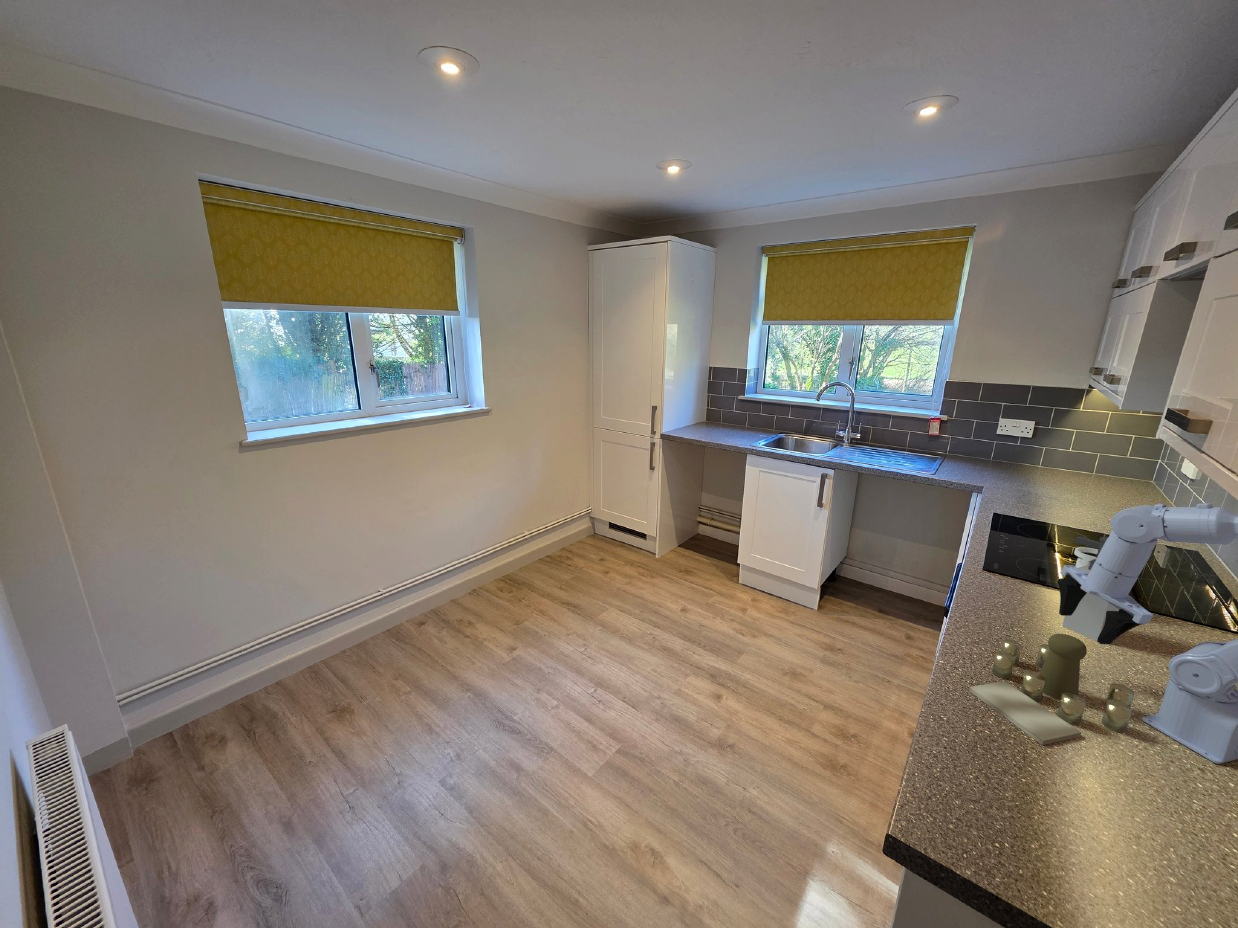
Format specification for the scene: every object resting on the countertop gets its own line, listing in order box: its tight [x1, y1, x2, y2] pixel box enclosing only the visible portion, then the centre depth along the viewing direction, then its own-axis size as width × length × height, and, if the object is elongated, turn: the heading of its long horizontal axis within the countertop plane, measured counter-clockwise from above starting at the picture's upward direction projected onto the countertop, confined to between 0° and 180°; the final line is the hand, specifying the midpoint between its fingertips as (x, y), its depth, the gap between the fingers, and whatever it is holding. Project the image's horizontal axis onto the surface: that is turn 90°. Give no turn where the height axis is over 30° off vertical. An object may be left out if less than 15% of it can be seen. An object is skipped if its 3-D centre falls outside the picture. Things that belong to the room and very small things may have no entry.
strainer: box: [1074, 546, 1098, 568], centre depth 119 cm, size 7×7×15 cm
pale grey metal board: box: [968, 680, 1082, 746], centre depth 85 cm, size 13×8×1 cm, turn 13°
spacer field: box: [991, 638, 1135, 734], centre depth 90 cm, size 21×14×4 cm
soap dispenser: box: [1061, 536, 1119, 642], centre depth 108 cm, size 6×9×22 cm
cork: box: [1038, 633, 1088, 701], centre depth 89 cm, size 6×6×11 cm
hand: (1083, 628), depth 92 cm, fingers open, 7 cm apart
